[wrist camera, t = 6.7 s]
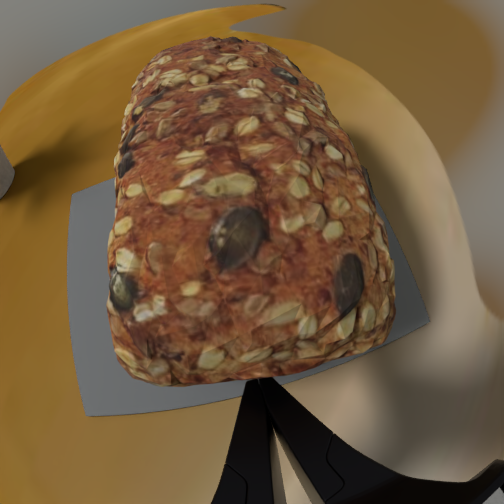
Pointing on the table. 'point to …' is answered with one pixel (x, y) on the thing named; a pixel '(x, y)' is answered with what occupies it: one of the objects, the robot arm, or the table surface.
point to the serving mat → (99, 333)
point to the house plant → (5, 173)
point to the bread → (240, 224)
